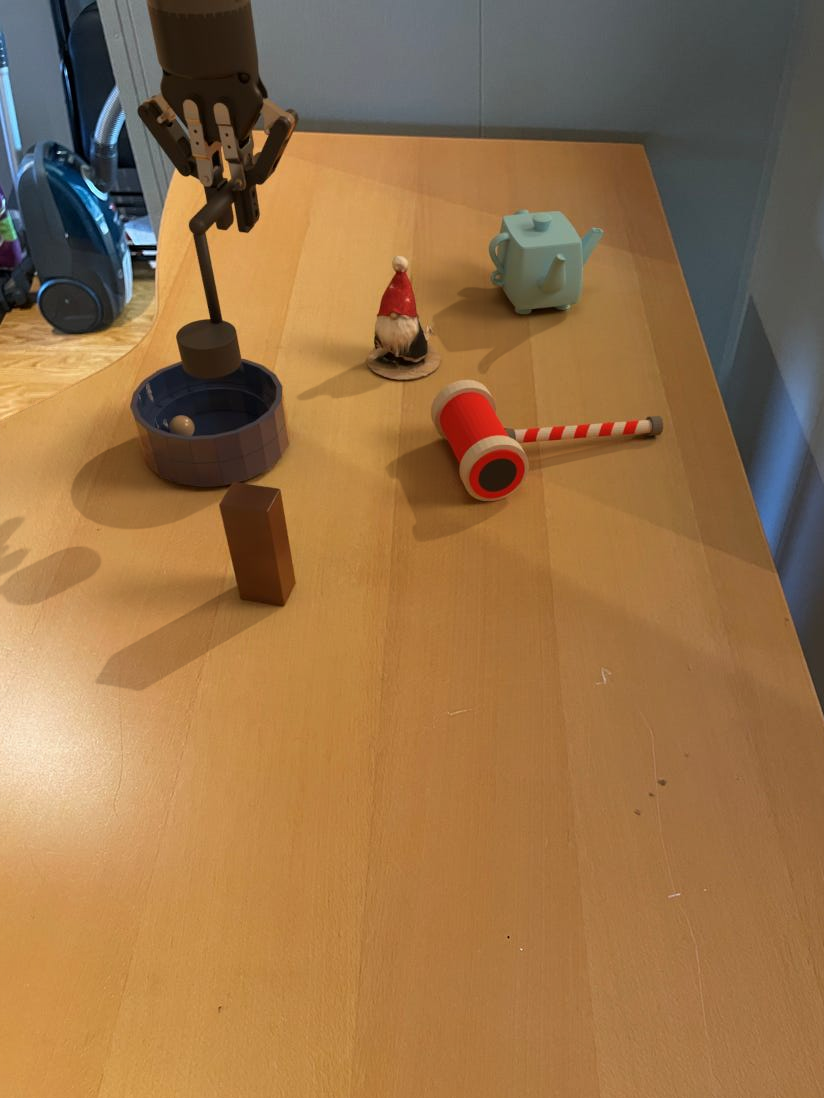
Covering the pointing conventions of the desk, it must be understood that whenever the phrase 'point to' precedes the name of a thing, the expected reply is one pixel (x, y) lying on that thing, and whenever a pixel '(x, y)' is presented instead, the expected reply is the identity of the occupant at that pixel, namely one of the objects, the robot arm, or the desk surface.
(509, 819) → the desk surface
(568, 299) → the teapot
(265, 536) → the upright brown pillar
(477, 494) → the toy hammer
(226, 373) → the ladle
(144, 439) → the bowl
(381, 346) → the figurine
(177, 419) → the bead
